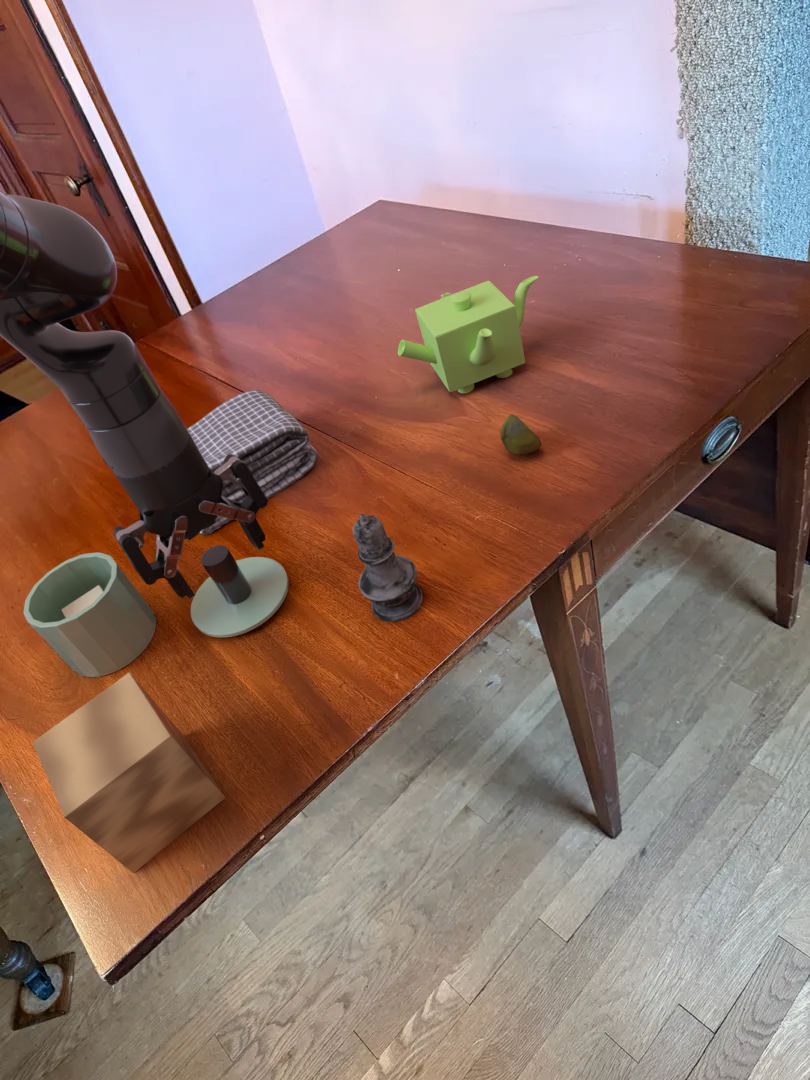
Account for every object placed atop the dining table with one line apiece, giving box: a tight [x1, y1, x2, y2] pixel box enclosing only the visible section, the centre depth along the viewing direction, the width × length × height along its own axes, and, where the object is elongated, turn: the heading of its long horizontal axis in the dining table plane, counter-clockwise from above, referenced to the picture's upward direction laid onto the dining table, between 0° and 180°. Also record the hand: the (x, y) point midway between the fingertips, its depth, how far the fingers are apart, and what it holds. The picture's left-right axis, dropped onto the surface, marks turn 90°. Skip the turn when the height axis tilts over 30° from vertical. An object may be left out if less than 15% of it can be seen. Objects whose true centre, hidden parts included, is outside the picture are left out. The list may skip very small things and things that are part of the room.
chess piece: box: [352, 513, 424, 623], centre depth 71 cm, size 6×6×12 cm
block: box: [61, 585, 103, 618], centre depth 80 cm, size 4×4×5 cm
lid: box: [190, 544, 290, 639], centre depth 78 cm, size 11×11×7 cm
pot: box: [23, 551, 157, 678], centre depth 79 cm, size 10×10×8 cm
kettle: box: [397, 275, 539, 394], centre depth 97 cm, size 15×14×11 cm
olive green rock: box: [499, 413, 543, 455], centre depth 84 cm, size 4×5×5 cm
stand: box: [31, 672, 226, 874], centre depth 62 cm, size 9×9×10 cm
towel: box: [186, 389, 318, 536], centre depth 95 cm, size 15×18×8 cm
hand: (224, 569), depth 77 cm, fingers open, 8 cm apart
